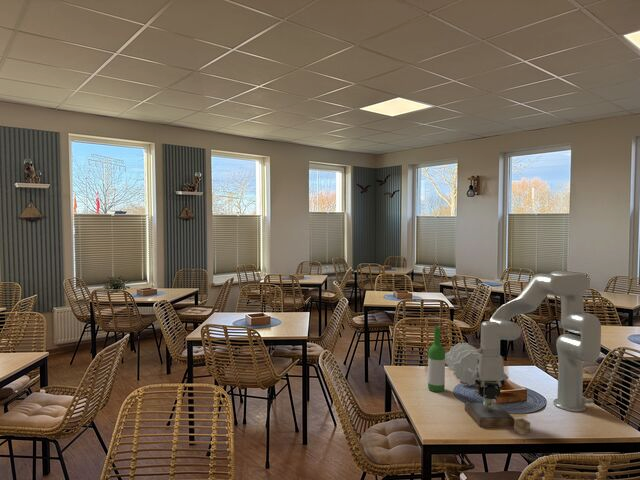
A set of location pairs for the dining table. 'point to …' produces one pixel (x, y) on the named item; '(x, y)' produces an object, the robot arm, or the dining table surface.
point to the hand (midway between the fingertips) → (489, 395)
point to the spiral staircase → (463, 362)
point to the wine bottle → (436, 364)
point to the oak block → (522, 426)
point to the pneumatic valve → (490, 393)
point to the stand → (489, 415)
